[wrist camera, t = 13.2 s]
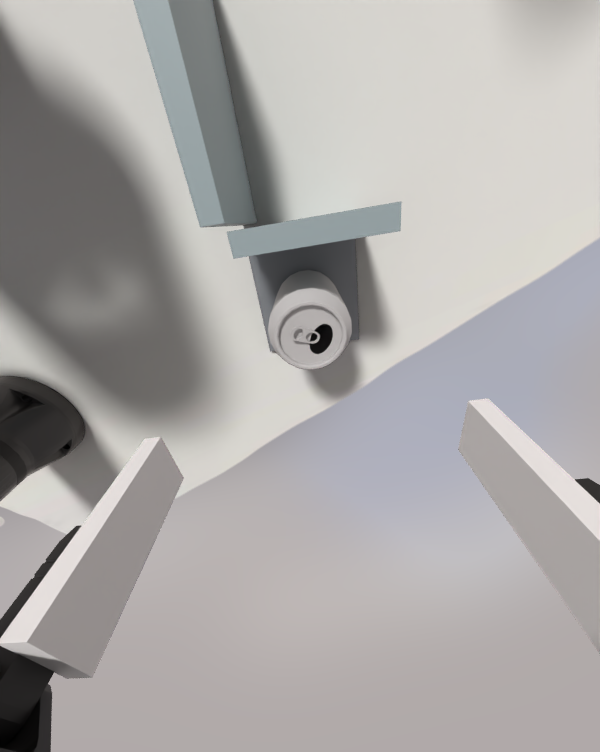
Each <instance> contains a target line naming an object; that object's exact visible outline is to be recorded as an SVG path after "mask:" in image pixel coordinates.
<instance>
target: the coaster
mask: <svg viewBox="0 0 600 752" xmlns="http://www.w3.org/2000/svg"><path fill="white" fill-rule="evenodd" d="M249 259H250V264H251V268H252V273H253V277H254V281H255V286H256V290H257V295H258V299H259V304H260V308H261V312H262V317H263V321H264V326H265V330H266V334H267V339H268V343H269V348H270V351H275V350H274V348H273V346H272V345H271V343H270V339H269V334H268V325H269V318H270V315H271V311H272V308H273V305H274V302H275V299H276V296H277V293H278V291H279V289H280V287H281V285H282V283H283V282H284V281H285V280H286V279H287V278H288V277H289V276H290V275H292V274H294V273H296V272H298V271H305V270H312V271H317V272H320V273H322V274H324V275H325V276H327V277H328V278H329V279H330V280H331V281H332V282H333V284H334V285H335V287H336V289H337V290H338V292H339V294H340V296H341V298H342V300H343V302H344V304H345V306H346V307H347V310H348V312H349V315H350V318H351V323H352V334H351V337H350V340H356V339H359V319H358V294H357V270H356V245H355V239H349V240H343V241H337V242H331V243H325V244H319V245H313V246H307V247H301V248H295V249H289V250H283V251H277V252H271V253H265V254H259V255H253V256H249Z"/></svg>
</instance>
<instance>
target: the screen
mask: <svg viewBox="0 0 600 752" xmlns="http://www.w3.org/2000/svg"><path fill="white" fill-rule="evenodd" d="M133 1H134V5H135V8H136V11H137V15H138V18H139V22H140V25H141V28H142V32H143V35H144V39H145V42H146V45H147V49H148V52H149V55H150V59H151V62H152V66H153V69H154V72H155V76H156V79H157V82H158V86H159V89H160V93H161V96H162V99H163V103H164V106H165V110H166V113H167V116H168V120H169V123H170V126H171V130H172V133H173V137H174V140H175V143H176V147H177V150H178V154H179V157H180V160H181V164H182V167H183V170H184V174H185V177H186V181H187V184H188V187H189V191H190V194H191V198H192V201H193V204H194V208H195V211H196V214H197V218H198V221H199V225H200V227H218V226H239V225H247V224H253V223H257V220H256V215H255V210H254V205H253V200H252V195H251V190H250V185H249V180H248V175H247V170H246V165H245V160H244V155H243V150H242V145H241V140H240V135H239V130H238V125H237V120H236V115H235V110H234V105H233V100H232V95H231V90H230V85H229V80H228V75H227V70H226V65H225V60H224V55H223V50H222V45H221V40H220V35H219V30H218V25H217V20H216V15H215V10H214V5H213V0H133ZM400 227H401V202H395V203H389V204H384V205H378V206H372V207H366V208H361V209H355V210H349V211H344V212H338V213H332V214H326V215H321V216H315V217H309V218H303V219H298V220H292V221H286V222H281V223H275V224H269V225H263V226H258V227H252V228H246V229H241V230H235V231H229V232H227V235H228V239H229V243H230V247H231V250H232V254H233V258H234V259H235V258H241V257H247V256H253V255H259V254H265V253H271V252H277V251H283V250H289V249H295V248H301V247H307V246H313V245H319V244H325V243H331V242H337V241H343V240H349V239H355V238H361V237H367V236H373V235H379V234H385V233H391V232H397V231H400Z"/></svg>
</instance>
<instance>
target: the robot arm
mask: <svg viewBox="0 0 600 752" xmlns="http://www.w3.org/2000/svg"><path fill="white" fill-rule="evenodd" d="M84 431H85V430H84V424H83V421H82V419H81V417H80V415H79V413H78V412H77V410H76V409H75V408H74V407H73V406H72V405H71V404H70V403H69V402H68V401H67V400H66V399H65V398H64V397H62V396H61V395H60V394H58V393H57V392H55V391H54V390H52V389H50V388H49V387H47V386H45V385H42V384H40V383H38V382H35V381H32V380H29V379H25V378H21V377H14V376H2V377H0V501H1V500H2V499H3V498H4V497H6V496H7V495H8V494H9V493H10V492H11V491H12V490H13V489H14V488H15V487H16V486H17V485H18V484H19V483H20V482H22V481H23V480H24V479H25V478H26V477H27V476H29V475H30V474H32V473H34V472H36V471H38V470H40V469H42V468H44V467H45V466H47V465H49V464H51V463H53V462H55V461H57V460H58V459H60V458H62V457H64V456H66V455H67V454H69V453H70V452H71V451H72V450H73V449H74V448H75V447H76V446H77V445H78V444H79V443H80V442H81V441H82V439H83V437H84ZM458 450H459V452H460V453H461V454H462V456H463V457H464V459H465V460H466V462H467V463H468V465H469V466H470V467H471V468H472V470H473V472H474V473H475V475H476V476H477V477H478V479H479V480H480V482H481V483H482V485H483V486H484V487H485V489H486V490H487V492H488V493H489V495H490V496H491V498H492V499H493V501H494V502H495V503H496V505H497V506H498V508H499V509H500V511H501V512H502V513H503V515H504V516H505V518H506V519H507V521H508V522H509V524H510V525H511V527H512V528H513V529H514V531H515V532H516V534H517V535H518V537H519V538H520V539H521V541H522V542H523V544H524V545H525V547H526V548H527V550H528V551H529V552H530V554H531V555H532V557H533V558H534V560H535V561H536V563H537V564H538V566H539V567H540V568H541V570H542V571H543V573H544V574H545V576H546V577H547V578H548V580H549V581H550V583H551V584H552V586H553V587H554V588H555V590H556V592H557V593H558V594H559V596H560V597H561V599H562V600H563V602H564V603H565V604H566V606H567V607H568V609H569V610H570V612H571V613H572V615H573V616H574V617H575V619H576V620H577V622H578V623H579V624H580V626H581V627H582V629H583V630H584V632H585V633H586V635H587V636H588V638H589V639H590V640H591V642H592V643H593V645H594V646H595V648H596V649H597V651H598V652H599V654H600V485H599V484H597V483H595V482H594V481H592V480H590V479H588V478H587V479H575V480H574V479H573V478H572V477H571V476H570V475H569V474H568V473H567V472H565V471H564V470H563V469H562V468H561V467H560V466H559V465H558V464H557V463H556V462H555V461H554V460H553V459H552V458H551V457H550V456H548V455H547V454H546V453H545V452H544V451H543V450H542V449H541V448H540V447H539V446H538V445H537V444H536V443H535V442H534V441H532V440H531V439H530V438H529V437H528V436H527V435H526V434H525V433H524V432H523V431H522V430H521V429H520V428H519V427H518V426H517V425H515V424H514V423H513V422H512V421H511V420H510V419H509V418H508V417H507V416H506V415H505V414H504V413H503V412H502V411H501V410H500V409H498V408H497V407H496V406H495V405H494V404H493V403H492V402H491V401H490V400H489V399H481V400H471V401H468V404H467V409H466V414H465V420H464V424H463V429H462V434H461V439H460V444H459V449H458ZM183 479H184V478H183V476H182V474H181V472H180V470H179V469H178V467H177V465H176V463H175V461H174V459H173V458H172V456H171V454H170V452H169V450H168V449H167V447H166V445H165V443H164V441H163V440H162V438H161V437H155V438H146V439H144V440H143V442H142V443H141V444H140V446H139V447H138V449H137V450H136V451H135V453H134V454H133V455H132V457H131V458H130V460H129V461H128V462H127V464H126V465H125V466H124V468H123V469H122V471H121V472H120V473H119V475H118V476H117V478H116V479H115V480H114V482H113V483H112V484H111V486H110V487H109V489H108V490H107V491H106V493H105V494H104V495H103V497H102V498H101V500H100V501H99V502H98V504H97V505H96V507H95V508H94V509H93V511H92V512H91V513H90V515H89V516H88V518H87V519H86V520H85V522H84V523H83V525H82V526H76V527H75V528H74V529H73V530H72V531H70V532H69V533H68V534H67V535H66V536H65V537H64V538H63V539H62V540H61V541H60V542H59V543H58V544H57V546H56V547H55V548H54V550H53V551H52V552H51V554H50V555H49V556H48V558H47V559H46V562H45V563H43V564H42V565H41V567H40V568H39V570H38V571H37V572H36V573H35V577H34V578H33V579H31V580H30V581H29V583H28V584H27V585H26V587H25V588H24V589H23V591H22V592H21V593H20V595H19V596H18V597H17V599H16V600H15V601H14V602H13V604H12V605H11V606H10V608H9V609H8V610H7V612H6V613H5V614H4V616H3V617H2V618H1V620H0V752H50V750H51V749H50V748H51V746H50V745H51V711H52V710H51V709H52V692H51V687H50V685H48V682H49V681H50V678H51V677H52V675H53V673H54V672H55V673H57V674H59V675H61V676H63V677H65V678H67V679H69V678H89V677H90V678H91V677H93V675H94V673H95V670H96V668H97V666H98V664H99V662H100V660H101V658H102V655H103V653H104V651H105V649H106V647H107V644H108V642H109V640H110V638H111V636H112V634H113V631H114V629H115V627H116V625H117V622H118V620H119V618H120V616H121V614H122V612H123V609H124V607H125V605H126V603H127V601H128V598H129V596H130V594H131V592H132V590H133V588H134V586H135V583H136V581H137V579H138V577H139V575H140V572H141V570H142V568H143V566H144V564H145V561H146V559H147V557H148V555H149V553H150V551H151V548H152V546H153V544H154V542H155V540H156V537H157V535H158V533H159V531H160V529H161V527H162V524H163V522H164V520H165V518H166V516H167V514H168V511H169V509H170V507H171V505H172V503H173V500H174V498H175V496H176V494H177V492H178V490H179V487H180V485H181V483H182V481H183Z"/></svg>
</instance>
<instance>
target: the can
mask: <svg viewBox="0 0 600 752" xmlns="http://www.w3.org/2000/svg"><path fill="white" fill-rule="evenodd" d="M268 334H269V339H270V343H271V345H272V346H273V348H274V350H275V351H276V353H277V354H278V355H279V356H280V357H281V358H282V359H284V360H285V361H286V362H287V363H289V364H291V365H293V366H295V367H297V368H301V369H307V370H312V369H320V368H322V367H325V366H327V365H330V364H331V363H332V362H333V361H335V360H336V359H337V358H338V357H339V356H340V355H341V354H342V353H343V351H344V350H345V348H346V347H347V345H348V344H349V340H350V337H351V334H352V323H351V318H350V315H349V312H348V310H347V307H346V306H345V304H344V302H343V300H342V298H341V296H340V294H339V292H338V290H337V289H336V287H335V285H334V284H333V282H332V281H331V280H330V279H329V278H328V277H327V276H325V275H324V274H322V273H320V272H317V271H312V270H305V271H298V272H296V273H294V274H292V275H290V276H289V277H288V278H287V279H286V280H285V281H284V282H283V283H282V285H281V287H280V289H279V291H278V293H277V296H276V299H275V302H274V305H273V308H272V311H271V315H270V318H269V325H268Z"/></svg>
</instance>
